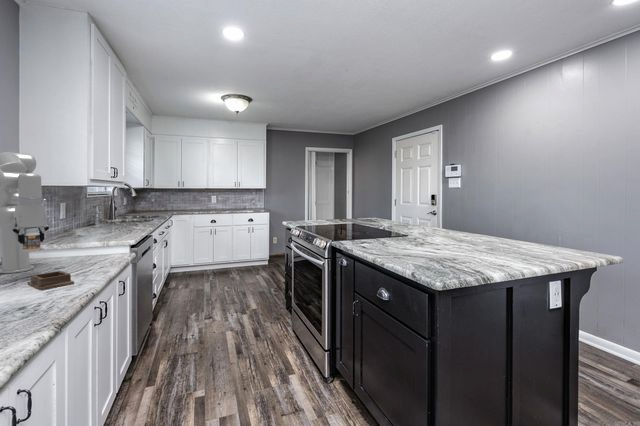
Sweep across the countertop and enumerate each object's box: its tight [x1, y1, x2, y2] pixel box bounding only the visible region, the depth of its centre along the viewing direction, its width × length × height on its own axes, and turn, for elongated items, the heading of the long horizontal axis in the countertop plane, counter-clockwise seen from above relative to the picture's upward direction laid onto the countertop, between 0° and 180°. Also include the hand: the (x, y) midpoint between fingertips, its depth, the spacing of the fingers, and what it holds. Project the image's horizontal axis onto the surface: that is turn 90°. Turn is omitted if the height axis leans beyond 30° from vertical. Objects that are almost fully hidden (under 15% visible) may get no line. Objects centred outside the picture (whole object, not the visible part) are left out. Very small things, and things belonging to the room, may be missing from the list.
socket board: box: [27, 270, 75, 291], centre depth 130 cm, size 14×11×4 cm
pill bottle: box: [23, 227, 41, 252], centre depth 137 cm, size 6×6×10 cm
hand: (31, 242), depth 137 cm, fingers closed on pill bottle, 5 cm apart
